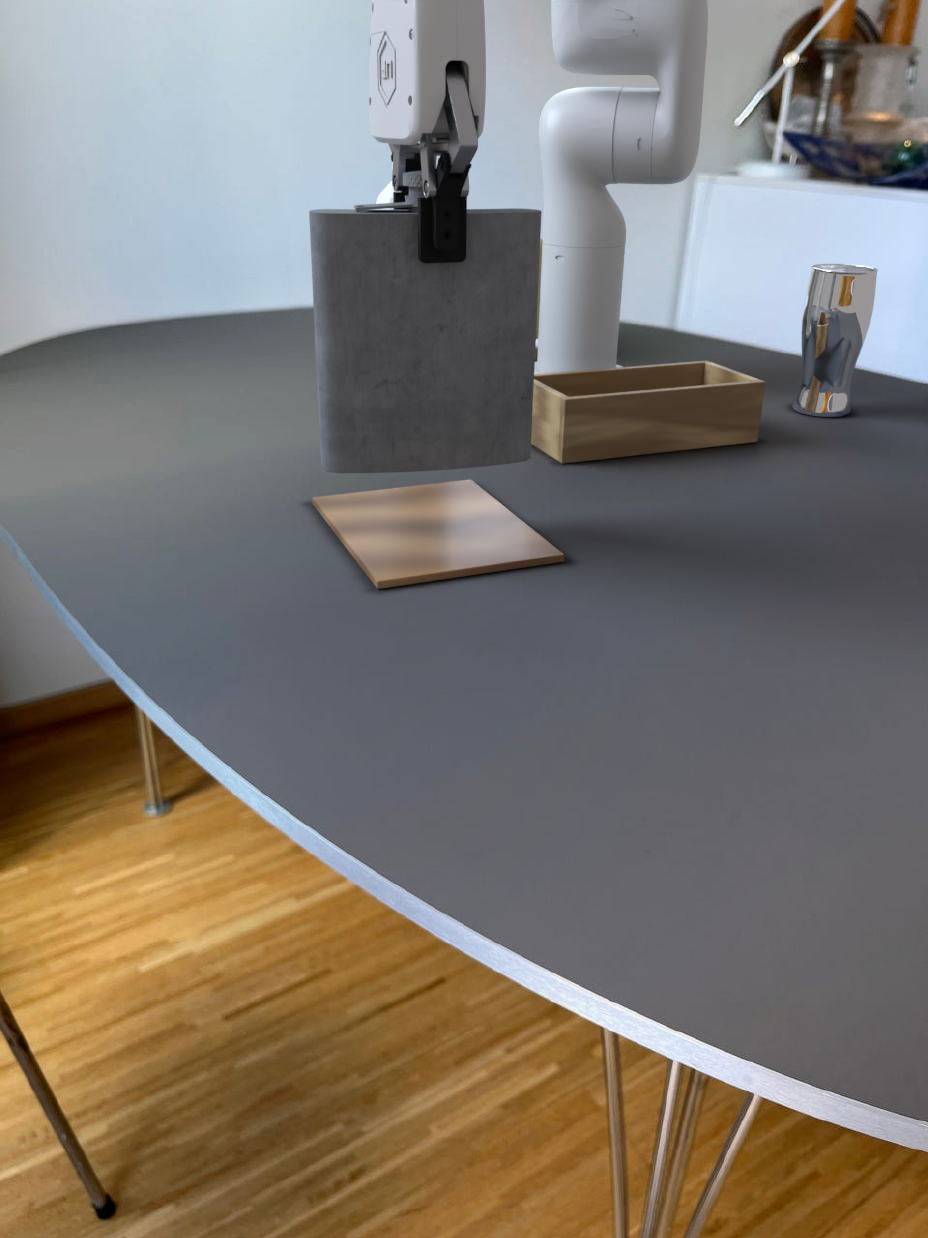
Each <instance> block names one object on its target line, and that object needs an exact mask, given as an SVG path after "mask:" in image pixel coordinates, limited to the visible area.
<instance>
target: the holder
mask: <svg viewBox="0 0 928 1238" xmlns="http://www.w3.org/2000/svg"><path fill="white" fill-rule="evenodd" d="M766 383H767V382H766V381H764V380H762V379H759V378H756V377H754V376H751V375H749V374H746V373H743V372H741V371H737V370H735V369H732V368H729V367H726V366H723V365H721V364H718V363H716V362H713V361H710V360H697V361H684V362H671V363H660V364H647V365H633V366H622V367H619V368H607V369H594V370H581V371H569V372H556V373H543V374H534V389H533V411H532V433H531V446H534V447H535V448H537V449H538V450H540V451H541V452H543V453H544V454H546V455H548V456H549V457H551V458H552V459H554V460H555V461H557V462H558V463H560V464H572V463H582V462H590V461H598V460H608V459H617V458H626V457H635V456H644V455H651V454H652V455H653V454H662V453H671V452H680V451H688V450H696V449H697V450H698V449H704V448H705V449H706V448H714V447H715V448H717V447H724V446H732V445H733V446H734V445H742V444H750V443H757V442H758V439H759V431H760V425H761V418H762V412H763V411H762V409H763V403H764V398H765V397H764V396H765V391H766V390H765V389H766Z"/></svg>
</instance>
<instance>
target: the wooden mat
mask: <svg viewBox="0 0 928 1238" xmlns="http://www.w3.org/2000/svg"><path fill="white" fill-rule="evenodd" d="M311 504H312V505H313V506H314V508H315V509H316V511H317V512H318V513H319V514H320V516H321V517H322V518H323V520H324V521H325V523H326V524H327V525H328V526H329V527H330V529H331V530H332V532H333V533H334V534H335V535H336V537H337V538H338V539H339V541H340V542H341V543H342V545H343V546H344V547H345V549H346V550H347V551H348V552H349V554H350V555H351V556H352V558H353V559H354V560H355V561H356V563H357V564H358V565H359V567H360V568H361V570H362V571H363V572H364V573H365V575H366V576H367V577H368V578H369V580H370V581H371V582H372V584H373V585H374V586H375V588H376V589H377V590H382V589H388V588H395V587H401V586H408V585H415V584H421V583H430V582H435V581H442V580H449V579H457V578H463V577H469V576H477V575H483V574H484V575H485V574H489V573H496V572H503V571H509V570H516V569H517V570H519V569H525V568H530V567H531V568H532V567H537V566H544V565H550V564H558V563H564V562H565V554H564V553H563V552H562V551H561V550H559V549H558V548H557V547H556V546H555V545H553V544H552V543H551V542H549V541H548V540H547V539H546V538H544V537H543V536H542V535H541V534H539V533H538V532H537V531H536V530H535V529H533V528H532V527H531V526H530V525H529V524H527V523H526V522H524V521H523V520H522V519H521V518H519V516H517V515H516V514H515V513H513V512H512V511H511V510H509V508H507V507H506V506H504V505H503V504H502V503H501V502H500V501H499V500H497V499H496V498H495V497H493V496H492V495H491V494H490V493H489V492H487V491H486V490H485V489H484V488H482V487H481V486H480V485H478V484H477V483H476V482H474V480H472V479H462V480H453V481H445V482H434V483H427V484H419V485H417V484H416V485H410V486H401V487H400V486H399V487H393V488H383V489H377V490H376V489H375V490H374V489H373V490H365V491H357V492H356V491H355V492H347V493H340V494H339V493H338V494H330V495H321V496H313V497H312V498H311Z"/></svg>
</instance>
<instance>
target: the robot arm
mask: <svg viewBox="0 0 928 1238" xmlns="http://www.w3.org/2000/svg"><path fill="white" fill-rule="evenodd" d="M708 4H709V3H708V0H550V12H551V13H550V20H551V21H550V22H551V23H550V24H551V40H552V41H551V42H552V50H553V55H554V57H555V61H556V62H557V64H558V65H559V66H560V67H561V68H562V69H564V70H565V71H567V72H570V73H574V74H579V75H590V76H651V77H652V78H654V79H655V81H656V82H657V85H658V87H627V86H626V87H625V86H581V87H580V86H579V87H578V86H577V87H572V88H568V89H564V90H561V91H559V92H557V93H556V94H553V96H551V97H550V98H548V100H547V102H546V103H545V104H544V106H543V108H542V110H541V113H540V116H539V122H538V144H539V154H540V164H541V174H542V175H541V176H542V190H543V216H542V217H543V220H542V221H543V222H542V240H543V242H542V265H541V288H540V312H539V335H538V339H536V345H535V347H536V348H537V349H538V358H537V362H535V367H534V374H543V373H556V372H569V371H581V370H594V369H607V368H619V367H623V366H622V365H619V364H617V358H618V344H619V331H620V320H621V319H620V318H621V309H622V308H621V306H622V292H623V282H624V281H623V280H624V279H623V278H624V267H625V254H626V244H627V243H626V241H627V226H626V225H627V224H626V219H625V218H624V215H623V212H622V210H621V209H620V207H619V205H618V204H617V202H616V200H615V199H614V198H613V196H612V195H611V193H610V192H609V190H608V189H607V186H608V185H618V184H630V185H672V184H673V185H674V184H678V183H681V182H683V181H685V180H686V179H688V177H689V176H690V175H691V173H692V172H693V171H694V169H695V166H696V162H697V159H698V155H699V147H700V141H701V128H702V116H703V101H704V88H705V87H704V86H705V73H706V61H707V60H706V59H707V48H708V47H707V46H708V45H707V44H708V29H709V27H708V25H709V5H708ZM485 17H486V16H485V0H371V10H370V28H369V30H370V31H369V67H368V68H369V69H368V70H369V71H368V72H369V73H368V74H369V75H368V129H369V133H370V134H371V136H372V138H374V140H375V141H377V142H378V143H382V144H387V145H388V146H389V149H390V152H391V154H390V161H391V163H392V162H393V171H392V170H391V181H392V186H393V190H394V191H395V192H393V203H398V202H405V195H409V186H404V185H403V173H406V172H413V171H422V183H423V193H424V197H418V258H419V260H420V261H421V262H423V263H426V264H428V263H454V262H463V261H464V260H465V259H466V229H467V209H468V196H469V193H470V180H469V172H470V169H471V168H472V165H473V164H472V163H471V162H472V160H473V159H474V157H475V155H476V153H477V151H478V148H479V138H480V137H481V136H482V134H483V132H484V127H485V126H484V125H485V115H486V97H487V96H486V95H487V94H486V93H487V89H486V88H487V58H486V57H487V50H486V49H487V48H486V47H487V46H486V19H485ZM438 157H439V158H438ZM437 158H438V159H437ZM394 210H408V207H402V208H394Z"/></svg>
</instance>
